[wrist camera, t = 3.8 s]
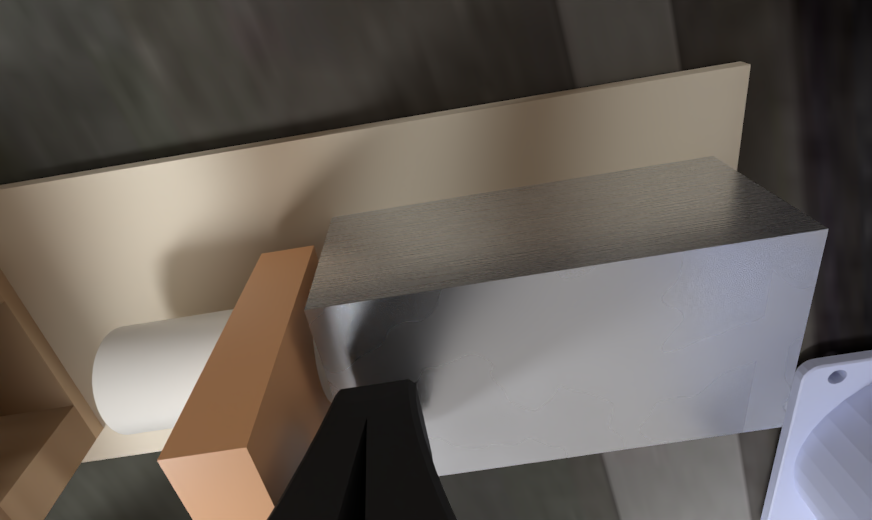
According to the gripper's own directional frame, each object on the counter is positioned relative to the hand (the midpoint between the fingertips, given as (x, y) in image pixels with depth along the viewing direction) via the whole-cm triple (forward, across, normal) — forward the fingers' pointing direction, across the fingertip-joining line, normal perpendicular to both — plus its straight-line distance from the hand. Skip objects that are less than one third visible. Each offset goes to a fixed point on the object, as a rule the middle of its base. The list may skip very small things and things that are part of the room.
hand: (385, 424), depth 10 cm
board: (+5, +3, 0) cm, 6 cm away
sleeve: (+4, -3, 0) cm, 5 cm away
